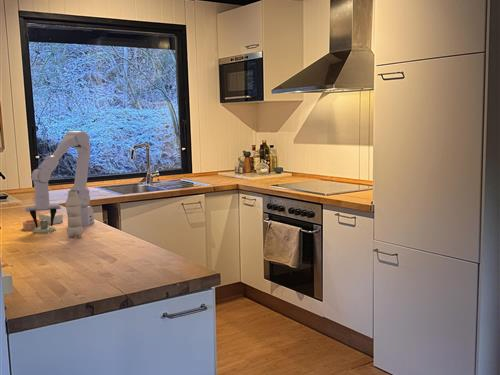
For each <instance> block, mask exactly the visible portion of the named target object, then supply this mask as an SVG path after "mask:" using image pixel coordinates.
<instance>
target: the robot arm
mask: <svg viewBox="0 0 500 375" xmlns="http://www.w3.org/2000/svg"><path fill="white" fill-rule="evenodd" d="M70 148H74V149H75V150H76V151H77V159H76V167H75V168H76V169H75V175H74V182H73V183H74V184H73V186H71V187H70V190H77V197H78V198H79V199H80V201H81V215H80V216H81V224H82V227H83V226H86V227H87V226H89V225H92V224H94V223H95V216H94V208H93V206H91V205H89V204H90V202H91V196H90V190H89V188H88V187H87V183H88V175H89V174H88V173H89V167H90V159H91V145H90V136H89V135H88V133H87V132H86V131H84V130H81V131H79V130H77V131H73V130H69V131H67V132H66V133H65V135H64V136H63V137H62V140H61V141H60V143H59V145H58V146H57V147H56V149H55V150H54V152H53V153H52V155H47V156H45V157H44V158H43V161H42V163H41V164H40V165H38V166H37V168H36V169H33V171H32V173H31V175H30V179H31V180H32V182H33V185H34V186H33V187H34V200H35V205H31V206H25V207H24V209H25V210H24V211H25V213H29V214H30V216H31V218H32V220H34V222H35V225H36V227H38V226H37V220H38V219H37V212H40V211H49V212H50V214H51V224H50V226H54V224H53V220H54V217H55V214H56V213H57V210H61V209H62V208H61V204H50V193H49V192H50V191H49V190H50V189H49V181H50V180H51V176H52V175H51V174H52V173H53V171H54V170H55V169H56V168H57V167H58V165H59V164H60V158H62V157H63V156H64V154H65V153H66V152H67V151H68V150H69V149H70ZM70 190H69V191H70ZM68 197H69V196H68V195H67V198H68Z"/></svg>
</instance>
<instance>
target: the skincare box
mask: <svg viewBox="0 0 500 375" xmlns="http://www.w3.org/2000/svg"><path fill="white" fill-rule="evenodd" d="M63 217H64V216H63V214H61V213H57V212H56V214H55V217H54V220H53V225H54V224H60V223H63V222H64V218H63ZM38 220H48V225H49V224H50V225H51V214H50V211H47V212H41V213H38Z"/></svg>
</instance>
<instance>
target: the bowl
mask: <svg viewBox="0 0 500 375" xmlns="http://www.w3.org/2000/svg"><path fill="white" fill-rule="evenodd" d="M37 226H38V227H41V224H40V220H39V219H37ZM34 228H37V227H36V225H35V222H34V220H33V219H29V220H25V221H22V229H23V230H24V231H34Z"/></svg>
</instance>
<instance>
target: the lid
mask: <svg viewBox="0 0 500 375" xmlns="http://www.w3.org/2000/svg"><path fill="white" fill-rule="evenodd" d="M40 224H41V227H37V228H34V230H33V231H34V233H33V234H36V233H44V234H49V233H48V232H51V233H54V232H53V231H55V229H56V227H55V226H54V225H53V226H51V225H49V223H48V220H40ZM55 232H56V231H55Z"/></svg>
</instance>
